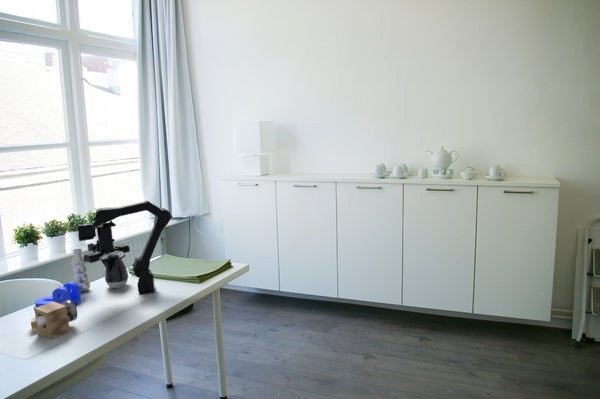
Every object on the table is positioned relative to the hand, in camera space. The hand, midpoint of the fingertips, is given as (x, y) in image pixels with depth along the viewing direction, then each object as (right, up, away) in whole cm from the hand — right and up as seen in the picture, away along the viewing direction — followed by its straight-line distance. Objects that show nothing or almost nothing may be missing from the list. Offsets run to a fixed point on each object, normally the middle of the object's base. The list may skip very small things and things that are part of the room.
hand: (109, 272), depth 196 cm
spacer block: (-16, -17, -25) cm, 35 cm away
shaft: (-8, -15, -28) cm, 33 cm away
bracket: (-22, -14, -1) cm, 26 cm away
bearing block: (-8, -18, -29) cm, 35 cm away
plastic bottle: (-18, -11, +13) cm, 24 cm away
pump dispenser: (-3, -10, +17) cm, 20 cm away
